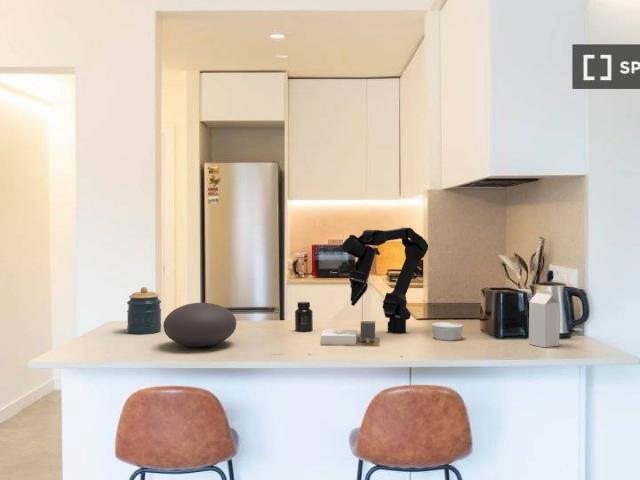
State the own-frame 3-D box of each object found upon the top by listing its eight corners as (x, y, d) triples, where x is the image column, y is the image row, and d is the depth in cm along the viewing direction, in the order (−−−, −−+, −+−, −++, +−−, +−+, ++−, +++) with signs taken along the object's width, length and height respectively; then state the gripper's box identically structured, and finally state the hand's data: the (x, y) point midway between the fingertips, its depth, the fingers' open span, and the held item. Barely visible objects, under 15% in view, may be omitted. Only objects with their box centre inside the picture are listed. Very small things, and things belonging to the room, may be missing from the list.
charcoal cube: (375, 340, 213) (375, 321, 213) (375, 343, 208) (375, 323, 208) (360, 340, 213) (361, 321, 213) (360, 342, 208) (360, 323, 208)
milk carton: (544, 348, 204) (545, 292, 204) (528, 344, 210) (529, 290, 210) (559, 346, 207) (560, 291, 207) (543, 342, 214) (543, 289, 213)
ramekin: (468, 338, 222) (468, 324, 222) (452, 342, 214) (452, 328, 214) (442, 334, 230) (442, 320, 230) (425, 338, 222) (425, 324, 221)
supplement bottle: (315, 332, 234) (315, 301, 234) (308, 335, 228) (307, 303, 228) (299, 331, 237) (299, 300, 237) (291, 333, 231) (291, 302, 231)
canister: (120, 333, 233) (119, 288, 233) (141, 328, 245) (141, 284, 245) (147, 335, 228) (147, 289, 228) (168, 330, 240) (167, 286, 240)
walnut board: (379, 340, 218) (379, 337, 218) (379, 349, 202) (379, 346, 202) (324, 339, 220) (324, 336, 220) (320, 348, 204) (320, 345, 204)
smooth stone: (158, 342, 215) (158, 300, 215) (226, 336, 225) (226, 297, 225) (169, 356, 193) (169, 309, 192) (245, 349, 203) (244, 305, 202)
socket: (357, 338, 217) (357, 329, 217) (355, 344, 205) (355, 336, 205) (323, 337, 218) (323, 329, 218) (320, 344, 206) (320, 335, 206)
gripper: (344, 262, 228) (332, 301, 224) (342, 249, 210) (328, 292, 206) (372, 270, 226) (360, 309, 222) (372, 258, 208) (360, 301, 204)
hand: (352, 303), depth 214 cm, fingers open, 9 cm apart
